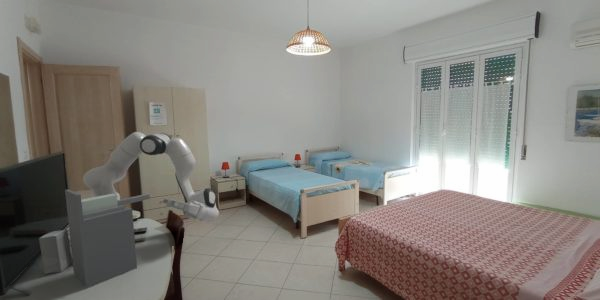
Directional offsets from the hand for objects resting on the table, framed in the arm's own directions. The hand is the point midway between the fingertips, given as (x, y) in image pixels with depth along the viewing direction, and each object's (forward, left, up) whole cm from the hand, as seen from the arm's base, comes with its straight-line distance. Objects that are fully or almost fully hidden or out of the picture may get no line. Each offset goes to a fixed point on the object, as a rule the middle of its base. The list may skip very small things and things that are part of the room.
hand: (168, 202), depth 137 cm
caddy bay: (0, -28, -23) cm, 36 cm away
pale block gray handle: (0, -22, +3) cm, 22 cm away
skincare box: (-21, -39, -23) cm, 50 cm away
